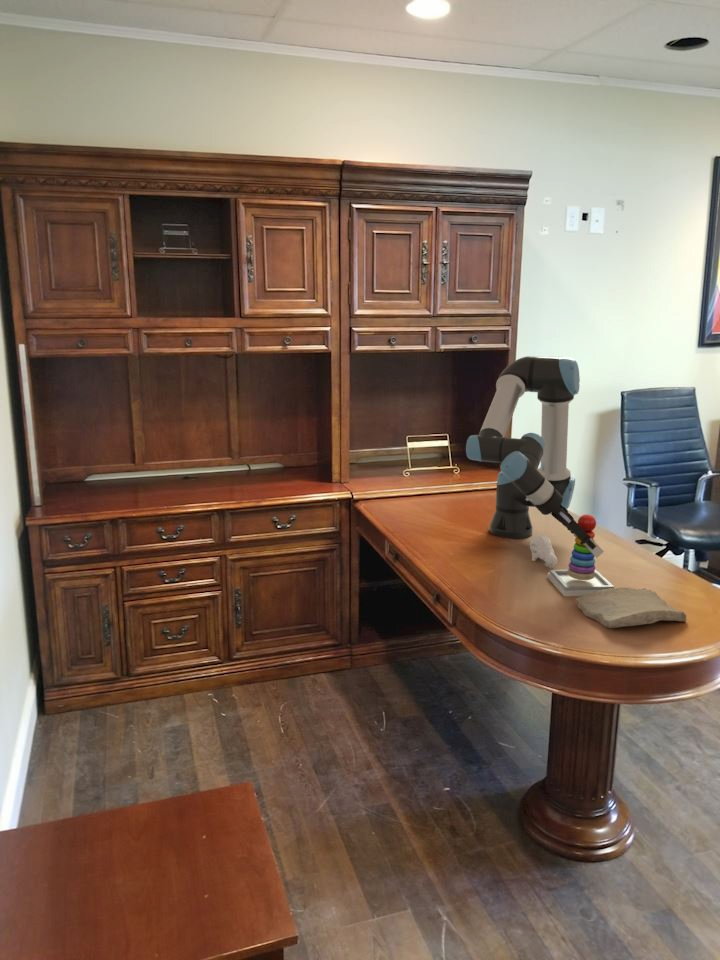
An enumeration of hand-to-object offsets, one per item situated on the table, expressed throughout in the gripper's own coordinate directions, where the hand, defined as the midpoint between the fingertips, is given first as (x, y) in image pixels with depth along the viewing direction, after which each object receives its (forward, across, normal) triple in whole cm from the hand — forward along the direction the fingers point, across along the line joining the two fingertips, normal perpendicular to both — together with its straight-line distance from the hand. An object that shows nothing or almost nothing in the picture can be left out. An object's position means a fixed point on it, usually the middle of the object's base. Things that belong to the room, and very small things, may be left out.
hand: (595, 550), depth 214 cm
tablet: (+10, +22, -7) cm, 25 cm away
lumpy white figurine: (+2, -20, -14) cm, 24 cm away
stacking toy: (+3, 0, -8) cm, 9 cm away
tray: (+5, 0, -10) cm, 12 cm away
